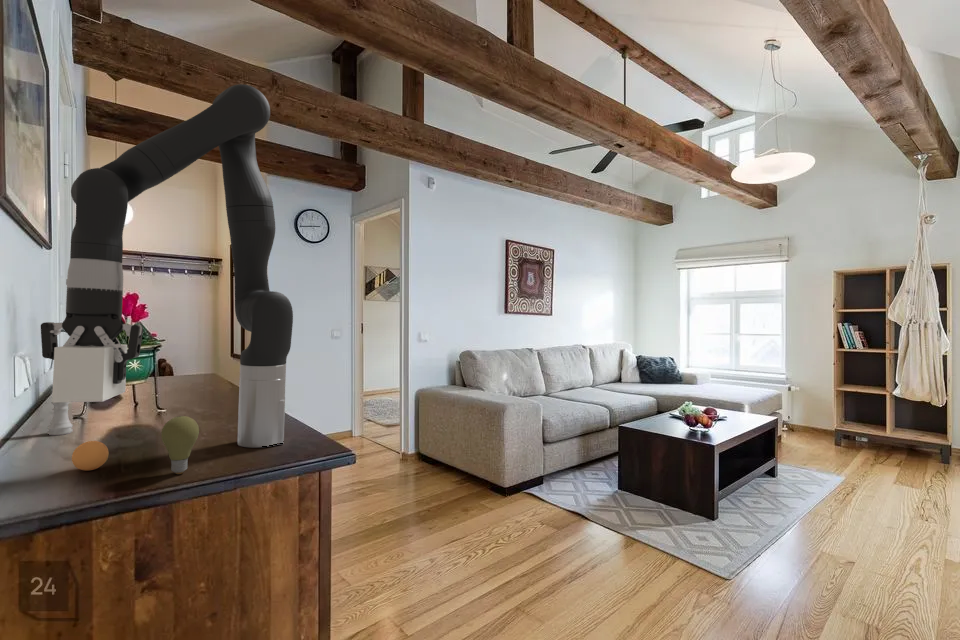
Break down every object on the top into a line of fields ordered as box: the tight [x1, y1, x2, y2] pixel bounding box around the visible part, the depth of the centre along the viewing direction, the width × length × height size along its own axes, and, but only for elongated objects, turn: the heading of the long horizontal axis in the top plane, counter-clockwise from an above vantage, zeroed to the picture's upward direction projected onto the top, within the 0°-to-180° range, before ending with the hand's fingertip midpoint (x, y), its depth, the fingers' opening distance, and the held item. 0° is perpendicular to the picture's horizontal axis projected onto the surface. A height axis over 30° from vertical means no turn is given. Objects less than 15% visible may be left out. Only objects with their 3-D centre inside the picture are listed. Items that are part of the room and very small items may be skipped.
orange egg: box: [71, 440, 109, 472], centre depth 83 cm, size 5×5×5 cm
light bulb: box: [160, 415, 200, 475], centre depth 83 cm, size 6×6×10 cm
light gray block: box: [51, 343, 128, 404], centre depth 81 cm, size 7×11×9 cm, turn 21°
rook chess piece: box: [46, 401, 74, 436], centre depth 106 cm, size 4×4×8 cm
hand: (91, 383), depth 81 cm, fingers closed on light gray block, 6 cm apart
